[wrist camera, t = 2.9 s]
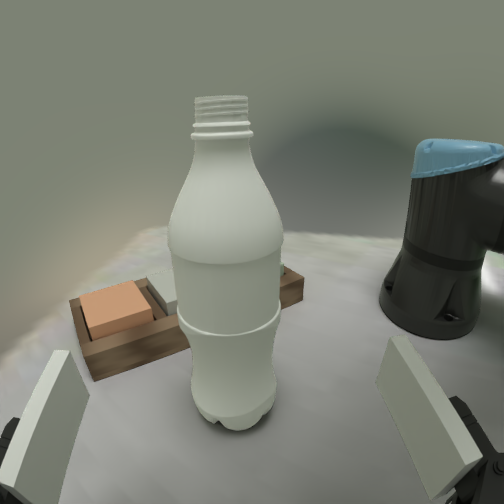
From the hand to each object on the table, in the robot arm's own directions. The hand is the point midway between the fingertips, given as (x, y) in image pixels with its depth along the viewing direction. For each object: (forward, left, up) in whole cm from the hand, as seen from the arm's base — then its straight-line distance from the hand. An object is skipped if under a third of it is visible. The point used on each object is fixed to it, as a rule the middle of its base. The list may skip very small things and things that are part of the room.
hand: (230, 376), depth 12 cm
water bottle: (-5, -8, -15) cm, 18 cm away
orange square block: (+1, -24, -12) cm, 27 cm away
